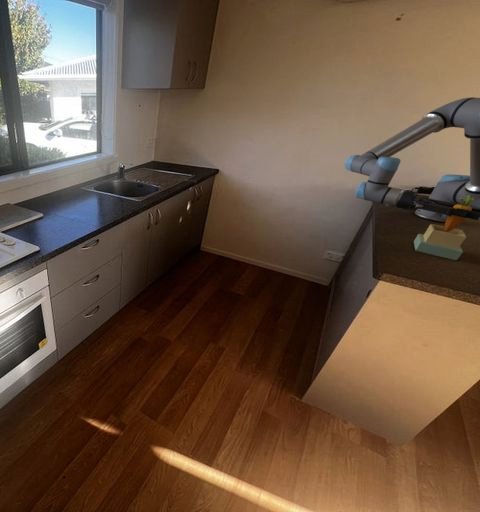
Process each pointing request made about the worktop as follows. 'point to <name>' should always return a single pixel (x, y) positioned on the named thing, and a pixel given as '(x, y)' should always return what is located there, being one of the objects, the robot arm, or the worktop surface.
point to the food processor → (440, 242)
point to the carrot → (456, 220)
